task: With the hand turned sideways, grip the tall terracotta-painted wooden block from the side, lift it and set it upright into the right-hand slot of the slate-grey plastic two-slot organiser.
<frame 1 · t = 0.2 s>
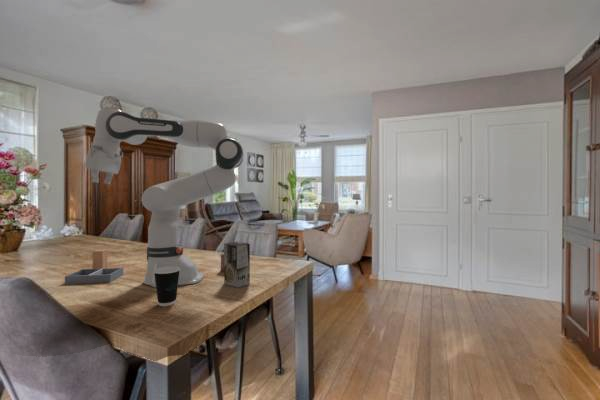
hand: (101, 183, 114), 40 cm above the table, tool pointing down, fingers open, 8 cm apart
dixie cup: (167, 304, 93), on the table
coffee box: (236, 284, 114), on the table
block: (100, 272, 131), on the table
organiser: (95, 279, 120), on the table
lighter: (228, 271, 134), on the table
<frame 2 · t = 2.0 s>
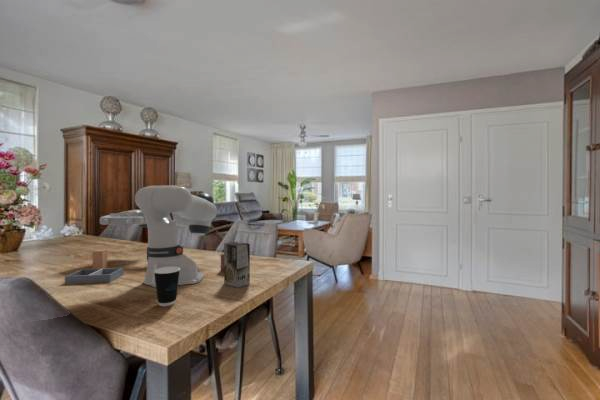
hand: (115, 221, 144), 22 cm above the table, tool horizontal, fingers open, 8 cm apart
nothing on the table moved.
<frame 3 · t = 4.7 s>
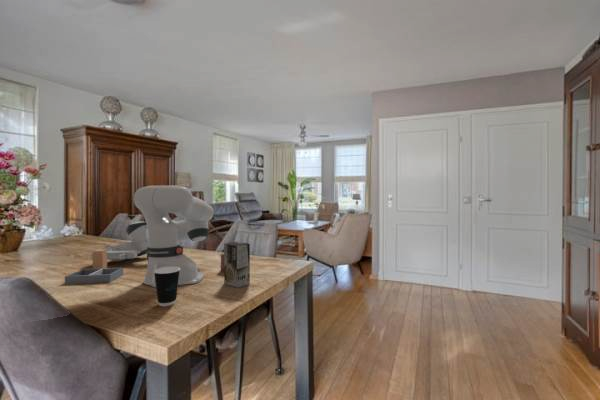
hand: (107, 257, 138), 5 cm above the table, tool horizontal, fingers open, 8 cm apart
nothing on the table moved.
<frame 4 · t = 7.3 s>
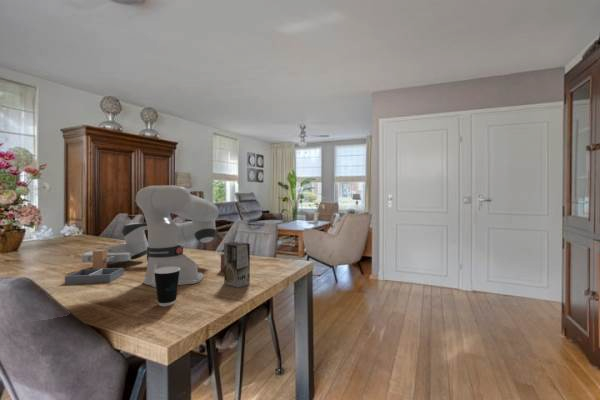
hand: (98, 260, 130), 6 cm above the table, tool horizontal, fingers closed on block, 4 cm apart
block: (100, 272, 131), on the table, touching gripper
everything else where it was.
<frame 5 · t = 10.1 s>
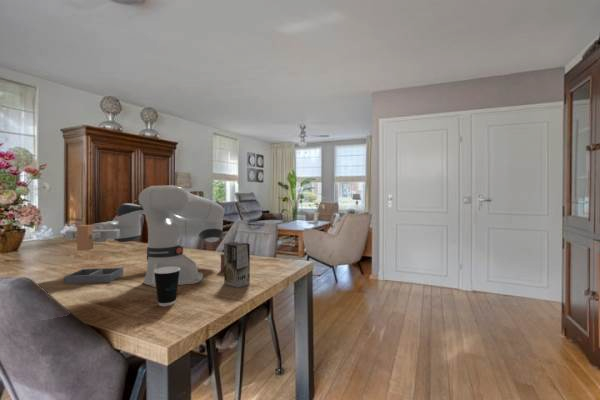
hand: (84, 236, 119), 18 cm above the table, tool horizontal, fingers closed on block, 4 cm apart
block: (85, 249, 120), point 12 cm above the table, touching gripper
everything else where it was.
when the fingers open (8 cm above the table, at t = 13.3 s): block drops 1 cm, resting on organiser.
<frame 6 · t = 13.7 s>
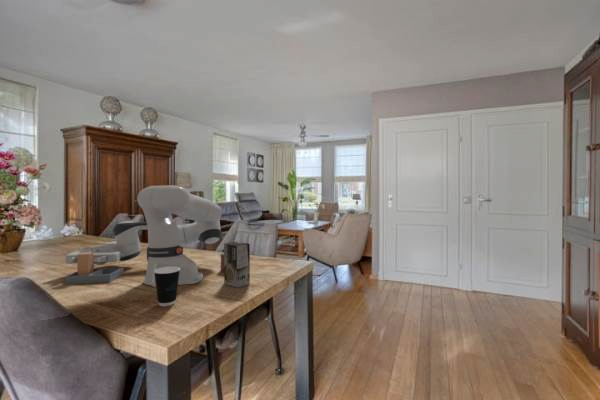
hand: (84, 261, 119), 8 cm above the table, tool horizontal, fingers open, 8 cm apart
block: (85, 277, 120), point 1 cm above the table, touching organiser
everything else where it was.
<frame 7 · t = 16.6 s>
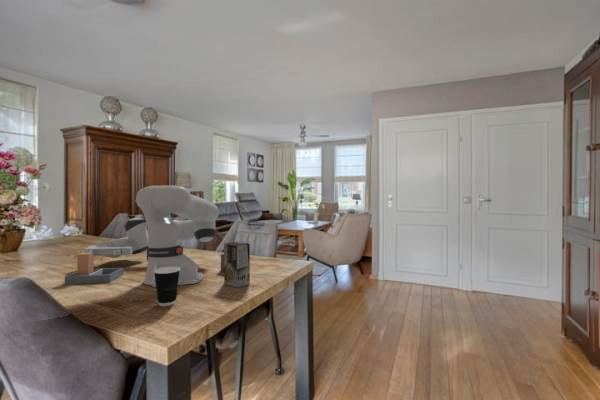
hand: (101, 254, 132), 8 cm above the table, tool horizontal, fingers open, 8 cm apart
nothing on the table moved.
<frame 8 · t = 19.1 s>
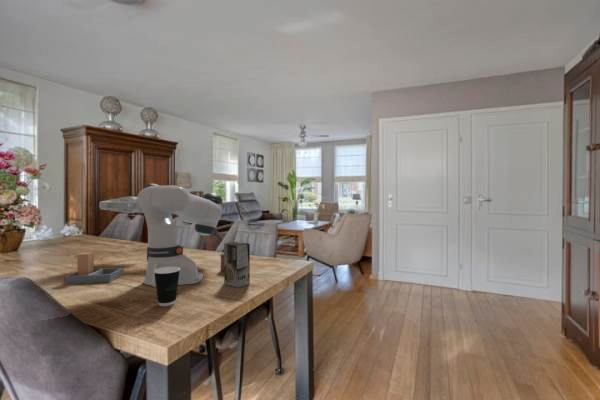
hand: (116, 205, 139), 30 cm above the table, tool horizontal, fingers open, 8 cm apart
nothing on the table moved.
at the end: block 0.1 cm from the target spot on the organiser, point 0.8 cm above the organiser's base; block tilted 0°; the gripper is holding nothing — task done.
